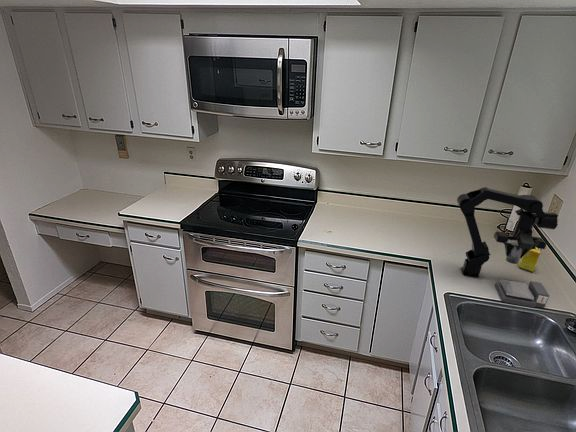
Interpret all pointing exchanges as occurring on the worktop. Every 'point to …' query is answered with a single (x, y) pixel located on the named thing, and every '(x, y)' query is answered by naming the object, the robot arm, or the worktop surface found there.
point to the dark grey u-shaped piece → (536, 290)
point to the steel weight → (514, 253)
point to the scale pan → (516, 289)
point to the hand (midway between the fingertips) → (513, 256)
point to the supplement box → (530, 260)
